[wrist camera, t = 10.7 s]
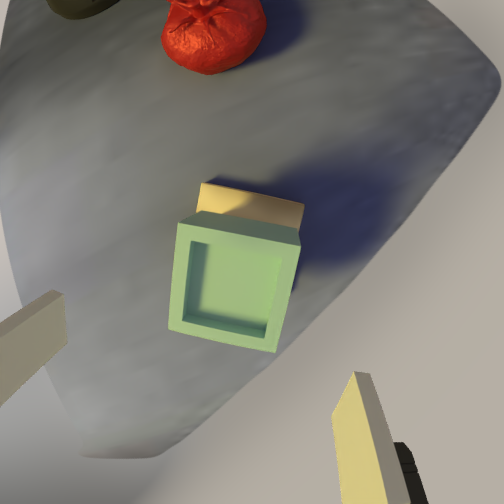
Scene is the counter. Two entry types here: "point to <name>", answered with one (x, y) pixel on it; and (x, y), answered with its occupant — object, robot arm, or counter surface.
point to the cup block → (232, 279)
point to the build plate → (249, 205)
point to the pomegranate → (213, 33)
